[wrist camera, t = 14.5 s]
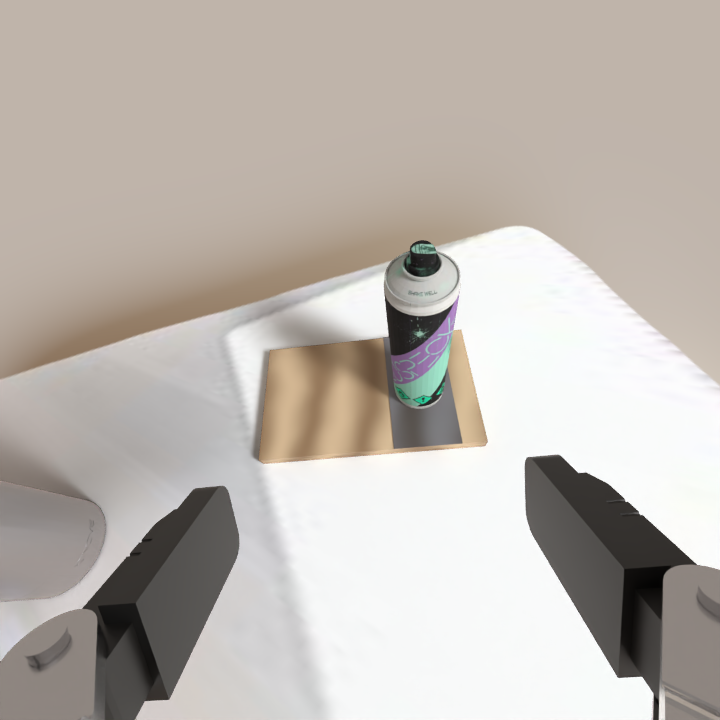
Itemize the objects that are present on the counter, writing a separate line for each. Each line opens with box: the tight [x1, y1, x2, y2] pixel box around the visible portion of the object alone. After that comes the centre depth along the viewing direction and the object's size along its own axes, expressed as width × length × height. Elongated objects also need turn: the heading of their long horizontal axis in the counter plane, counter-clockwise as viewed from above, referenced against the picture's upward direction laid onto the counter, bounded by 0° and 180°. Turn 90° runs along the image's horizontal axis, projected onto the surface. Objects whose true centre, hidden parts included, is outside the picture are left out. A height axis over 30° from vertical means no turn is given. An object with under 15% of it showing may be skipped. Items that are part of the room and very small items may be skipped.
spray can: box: [384, 240, 461, 409], centre depth 32 cm, size 6×6×20 cm
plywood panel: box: [259, 330, 488, 464], centre depth 41 cm, size 24×14×2 cm, turn 93°
